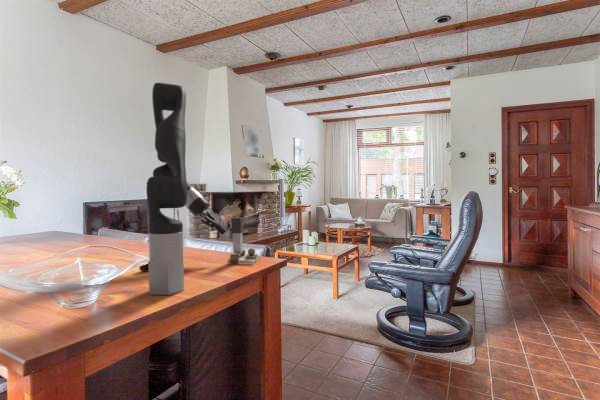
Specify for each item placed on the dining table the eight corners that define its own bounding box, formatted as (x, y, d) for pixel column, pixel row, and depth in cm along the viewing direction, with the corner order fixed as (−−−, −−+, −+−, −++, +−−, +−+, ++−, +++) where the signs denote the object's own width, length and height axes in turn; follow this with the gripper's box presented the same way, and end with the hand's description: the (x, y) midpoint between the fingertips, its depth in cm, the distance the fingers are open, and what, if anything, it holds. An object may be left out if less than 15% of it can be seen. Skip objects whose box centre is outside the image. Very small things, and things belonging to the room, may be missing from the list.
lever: (240, 258, 134) (239, 218, 133) (231, 258, 134) (230, 218, 133) (244, 255, 140) (244, 216, 139) (236, 255, 140) (235, 216, 139)
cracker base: (253, 264, 131) (253, 251, 131) (227, 264, 132) (227, 250, 132) (259, 258, 141) (259, 246, 141) (235, 258, 142) (235, 245, 142)
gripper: (193, 196, 131) (225, 228, 130) (207, 194, 144) (236, 224, 143) (180, 209, 132) (212, 242, 131) (195, 207, 145) (223, 236, 144)
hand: (224, 232), depth 137 cm, fingers closed
